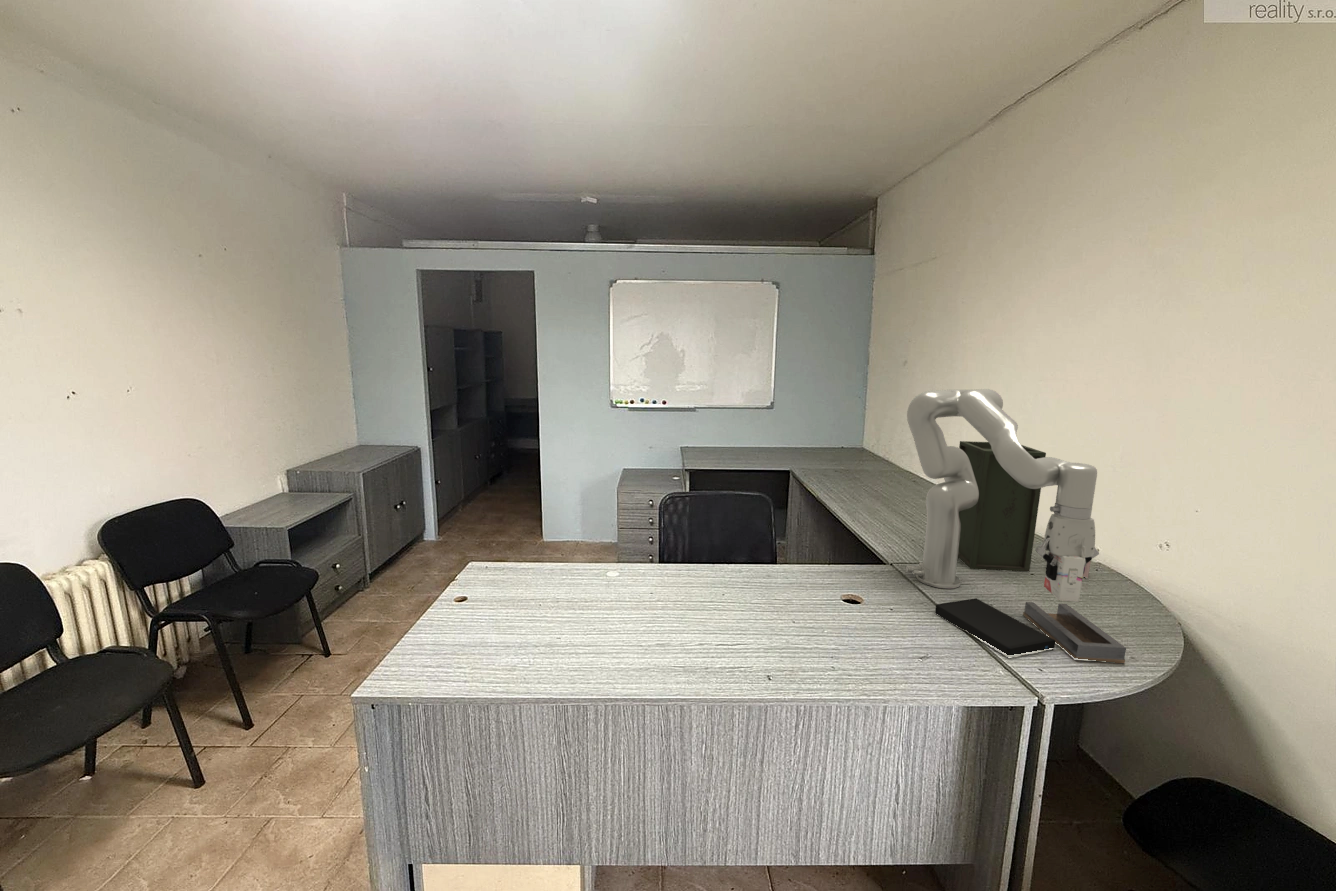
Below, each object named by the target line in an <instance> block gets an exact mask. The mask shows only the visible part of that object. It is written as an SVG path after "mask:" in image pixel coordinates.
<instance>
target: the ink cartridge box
mask: <svg viewBox="0 0 1336 891" xmlns="http://www.w3.org/2000/svg"><path fill="white" fill-rule="evenodd" d="M1084 564H1085V546H1083V545H1082V554H1081V557H1080V556H1059V557H1058V561H1057V563H1056V566H1057V567H1058V569H1057V577H1056V580H1051V579H1050V578H1049V577H1047V576H1046V573H1045V575H1044V583H1043V587H1044V588H1045V590H1047V591H1048V592H1049V593H1050V594H1051V595H1053V596H1054V597H1055V599H1056V600H1058V601H1063V602H1064V601H1065V602H1078V603H1079V602H1080V599H1081V598H1080V597H1081V590H1082V583H1083V579H1084V578H1083V571H1084Z"/></svg>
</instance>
